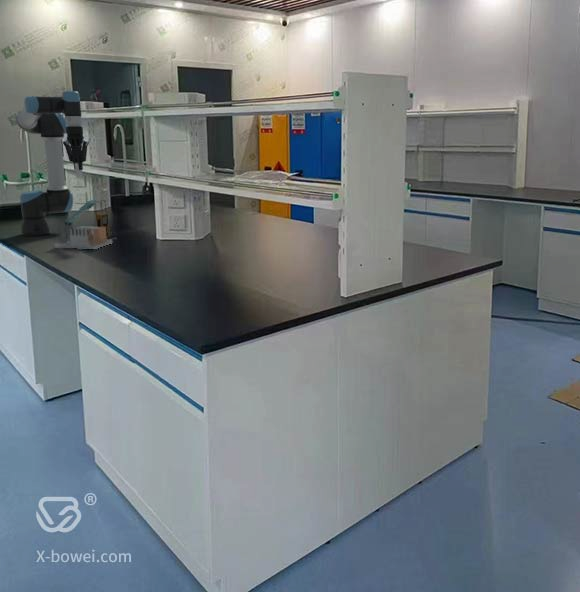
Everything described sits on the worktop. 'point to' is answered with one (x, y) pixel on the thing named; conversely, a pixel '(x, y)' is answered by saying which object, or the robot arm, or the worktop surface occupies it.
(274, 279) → the worktop surface
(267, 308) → the worktop surface
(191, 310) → the worktop surface
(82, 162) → the robot arm
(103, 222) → the multimeter
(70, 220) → the lever
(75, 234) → the heatsink base
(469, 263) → the worktop surface
